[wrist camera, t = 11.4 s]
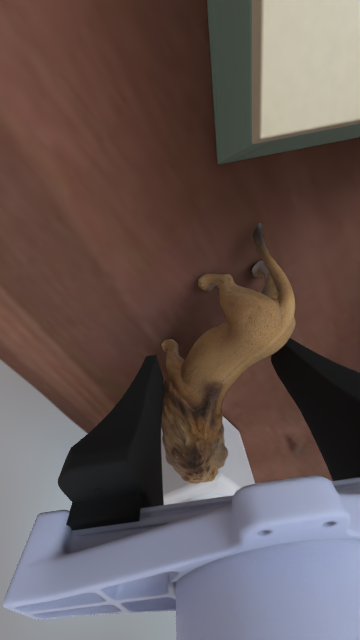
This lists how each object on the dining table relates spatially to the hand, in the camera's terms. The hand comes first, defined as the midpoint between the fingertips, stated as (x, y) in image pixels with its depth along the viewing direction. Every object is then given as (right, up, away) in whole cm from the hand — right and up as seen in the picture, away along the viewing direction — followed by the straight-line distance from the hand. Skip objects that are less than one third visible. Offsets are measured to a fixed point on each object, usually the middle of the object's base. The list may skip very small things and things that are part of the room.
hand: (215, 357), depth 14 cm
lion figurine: (0, +2, +4) cm, 5 cm away
